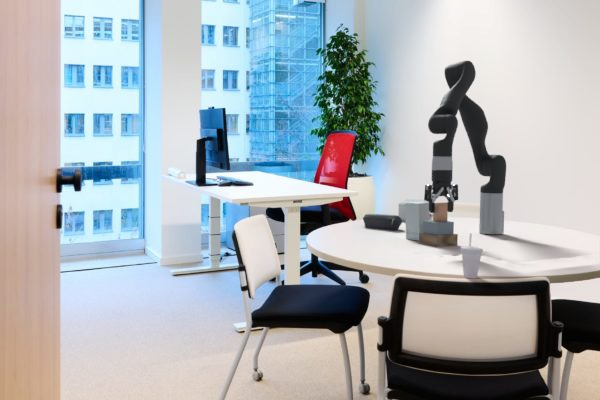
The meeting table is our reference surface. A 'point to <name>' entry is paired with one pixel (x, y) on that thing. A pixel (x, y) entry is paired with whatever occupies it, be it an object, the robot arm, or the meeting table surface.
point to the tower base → (438, 239)
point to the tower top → (438, 227)
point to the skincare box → (415, 218)
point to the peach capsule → (440, 212)
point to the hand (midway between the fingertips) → (441, 212)
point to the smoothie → (471, 259)
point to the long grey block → (402, 207)
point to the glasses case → (382, 221)
